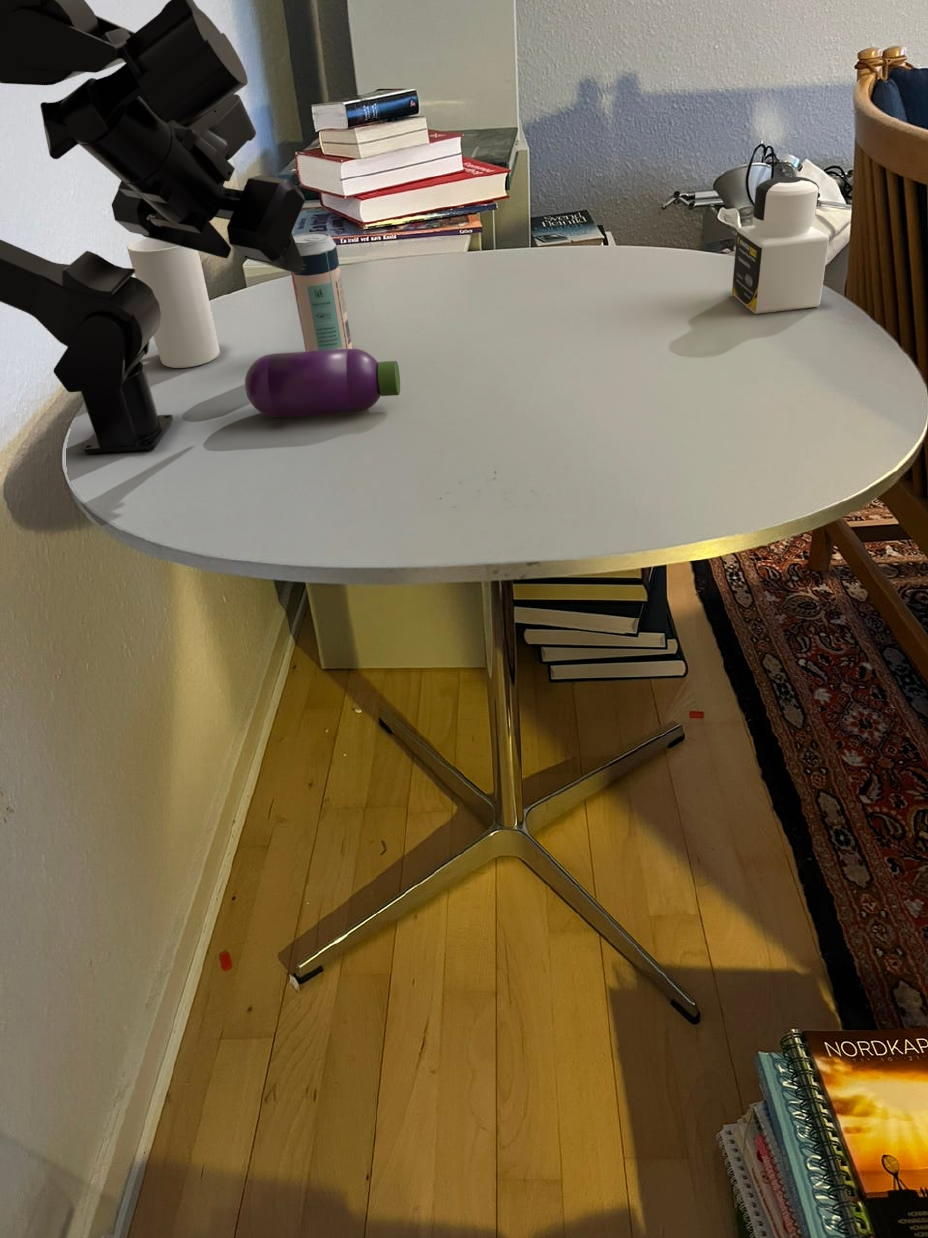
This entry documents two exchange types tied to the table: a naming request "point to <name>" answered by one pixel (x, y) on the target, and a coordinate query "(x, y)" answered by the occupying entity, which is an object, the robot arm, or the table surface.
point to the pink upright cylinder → (320, 294)
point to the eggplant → (319, 382)
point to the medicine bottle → (781, 249)
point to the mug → (177, 301)
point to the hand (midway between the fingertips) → (263, 260)
